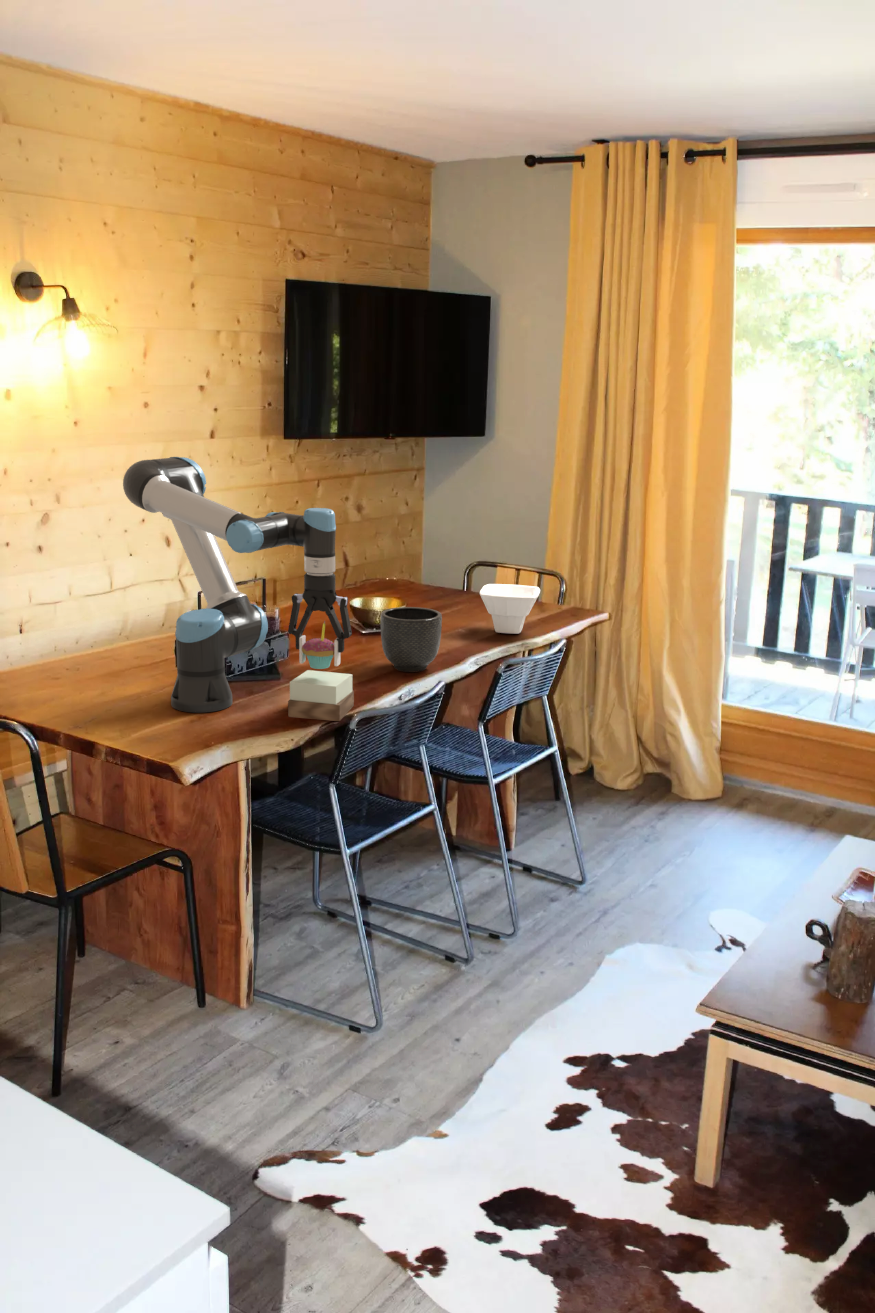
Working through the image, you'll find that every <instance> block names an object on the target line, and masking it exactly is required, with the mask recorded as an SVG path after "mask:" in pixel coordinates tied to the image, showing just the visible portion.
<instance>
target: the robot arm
mask: <svg viewBox="0 0 875 1313" xmlns="http://www.w3.org/2000/svg"><path fill="white" fill-rule="evenodd" d="M204 472H205V471H203V469H202V467H201V466H200V465H199V464H198V463H197V462H196V461H195V460H193V459H190V458H189V457H183V456H182V457H180V456H170V457H165V458H156V459H155V458H152V459H142V460H139V461H136V462H134V463H133V464H131V466H129V468H128V469H127V470H126V471H125V473H124V474H123V476H124V477H123V479H122V487H123V493H124V495H125V497H126V498H127V499H128V500H129V501H130V503H132V504H133V505H134V506H136V507H138V508H140V509H141V510H145V511H146V512H149V513H151V514H154V513H155V514H156V513H161V514H162V517H164V518H167V519H168V520H171V522H172V524H173V527H174V529H175V531H176V534H177V536H178V539H179V541H180V543H181V545H182V548H183V550H184V553H185V556H186V557H187V560H188V561H189V564H190V566H191V570H192V572H193V573H194V576H195V578H196V580H197V582H198V585H199V587H200V589H201V592H202V594H203V596H204V598H205V601H206V603H207V605H206V608H200V609H191V610H189V611H187V612H184V613H182V614H181V615H180V616H179V617H178V618H177V619H176V623H175V632H174V633H175V634H174V637H175V647H176V648H175V650H176V652H175V653H176V666H177V667H176V669H177V671H176V672H177V673H176V674H177V676H176V680H175V683H174V686H173V688H172V693H171V695H170V700H171V701H170V704H171V707H172V709H175V710H177V711H180V712H184V713H185V712H186V713H197V714H198V713H210V712H211V713H213V712H219V711H222V710H225V709H228V708H229V707H231V706H232V704H233V693H232V690H231V687H230V685H229V682H228V679H227V676H226V673H225V672H226V671H225V670H226V667H225V664H226V663H225V658H230V657H232V656H235V655H239V654H242V653H243V654H244V653H249V652H251V651H252V650H254V649H256V648H257V649H258V647H260V646H261V645H263V643H264V642H265V640H266V637H267V634H268V630H269V623H268V622H269V621H268V619H267V615H266V613H265V612H264V610H263V609H262V608H261V607H260V606H258V605H257V604H252V603H251V601H250V600H249V597H248V595H247V594H246V593H243V592H242V591H240V590H239V589H238V587H237V584H236V581H235V580H234V578H233V575H232V572H231V571H230V568H229V566H228V564H227V562H226V559H225V557H224V554H223V552H222V549H221V547H220V545H219V543H218V540H217V538H218V539H222V540H224V541H226V543H227V545H228V546H229V547H230V549H231V550H232V551H233V552H235V553H239V554H251V553H254V552H257V551H263V550H267V549H272V548H278V547H283V546H295V547H297V546H298V547H303V553H304V554H303V556H304V558H303V560H304V562H303V563H304V564H303V566H304V568H303V570H304V572H305V573H304V575H303V580H304V583H303V584H304V585H303V586H304V589H303V592H302V593H297V592H296V593H294V594H293V595H291V601H292V602H291V603H292V606H291V612H290V618H289V623H288V629H287V634H290V635H292V636H294V637H295V648H296V650H299V656H298V658H299V664H301V665H302V664H304V663H305V662H306V658H307V656H306V655H305V654H304V653H303V652H302V646H303V645H304V644H305V643H306V642H307V641H306V638H307V636H306V635H305V634H304V631H305V629H306V627H307V625H308V622H309V620H310V618H311V615H312V614H313V611H314V612H317V611H319V612H324V613H325V615H326V616H327V617H328V619H329V622H330V624H331V627H332V629H333V631H334V633H335V635H336V638H335V639H334V642H333V643H334V656H333V658H334V662H333V663H334V664H333V665H334V667H339V665H340V664H341V654H342V653H344V651H345V639H349V638H350V637H351V636H352V635H353V632H352V627H351V626H352V625H351V620H350V615H349V609H348V603H349V598H348V596H344V597H343V596H338V594H337V592H336V574H335V572H336V534H337V531H336V530H337V525H336V513H335V512H334V510H333V509H331V508H327V507H311V508H307V509H305V510H304V512H303V515H301V514H295V513H289V512H288V513H286V512H283V511H279V512H275V511H273V512H272V511H271V512H268V513H267V514H266V515H265V516H261V517H251V516H249V515H246V514H244V513H242V512H240V511H237V510H235V509H232V508H230V507H228V506H226V505H224V504H221V503H218V502H217V501H214V500H212V499H209V498H206V497H205V496H204V494H205V493H206V489H207V487H206V484H207V479H206V475H205V473H204ZM216 537H217V538H216ZM303 600H304V602H305V603H306V604H307V606H306V608H305V610H304V613H303V616H302V618H301V620H300V622H299V625H298V619H299V614H300V609H301V603H302V602H303ZM335 602H337V605H338V606H339V613H340V618H341V619H340V620H341V623H340V621H339V619H338V617H337V616H338V615H337V614H336V612H335V608H334V604H335ZM297 625H298V626H297ZM303 634H304V635H303Z"/></svg>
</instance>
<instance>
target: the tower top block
mask: <svg viewBox="0 0 875 1313" xmlns="http://www.w3.org/2000/svg"><path fill="white" fill-rule="evenodd" d="M352 691H353V674H351V673H342V672H333V671H332V672H331V671H324V670H323V671H321V670H312V669H307V670H305V671H304V672H302V673H301V674H299V675H298V676H297V677H295V678H293V679H292V680H291V681H289V700H298V701H307V702H317V703H326V704H337V703H339V702H340V701H341V700H342V699H344V698H345V697H346V696H347V695H349V694H350V693H351V692H352Z"/></svg>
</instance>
